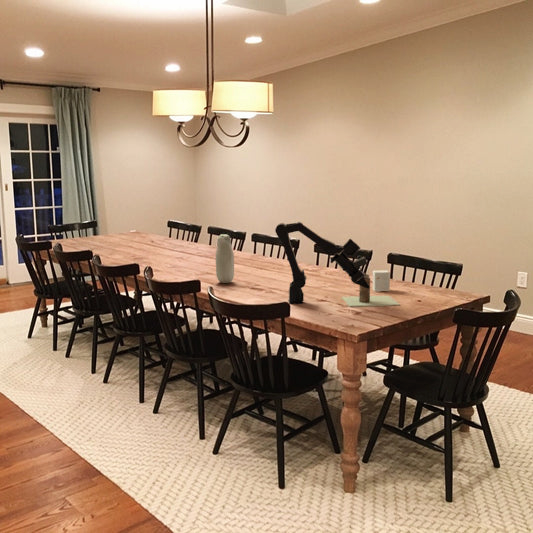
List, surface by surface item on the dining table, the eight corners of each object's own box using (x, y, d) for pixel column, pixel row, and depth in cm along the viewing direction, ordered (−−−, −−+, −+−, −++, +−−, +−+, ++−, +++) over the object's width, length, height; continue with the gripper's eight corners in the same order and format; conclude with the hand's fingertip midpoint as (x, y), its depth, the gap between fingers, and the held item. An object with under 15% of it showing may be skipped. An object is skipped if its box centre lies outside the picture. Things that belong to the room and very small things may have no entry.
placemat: (349, 306, 257) (349, 305, 257) (341, 298, 275) (341, 296, 275) (399, 305, 259) (399, 304, 259) (388, 296, 277) (388, 295, 277)
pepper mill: (363, 303, 261) (364, 274, 259) (357, 301, 266) (357, 272, 263) (371, 301, 264) (372, 273, 261) (365, 299, 268) (365, 271, 266)
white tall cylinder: (237, 282, 316) (236, 233, 311) (226, 285, 308) (225, 235, 303) (224, 280, 322) (222, 232, 317) (212, 283, 314) (211, 234, 309)
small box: (387, 289, 293) (387, 270, 292) (389, 291, 288) (390, 272, 286) (372, 289, 293) (372, 270, 291) (374, 292, 288) (375, 272, 286)
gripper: (359, 254, 252) (382, 278, 253) (355, 248, 270) (378, 270, 271) (341, 271, 254) (365, 294, 255) (339, 264, 272) (361, 286, 273)
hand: (368, 285), depth 263 cm, fingers open, 9 cm apart
